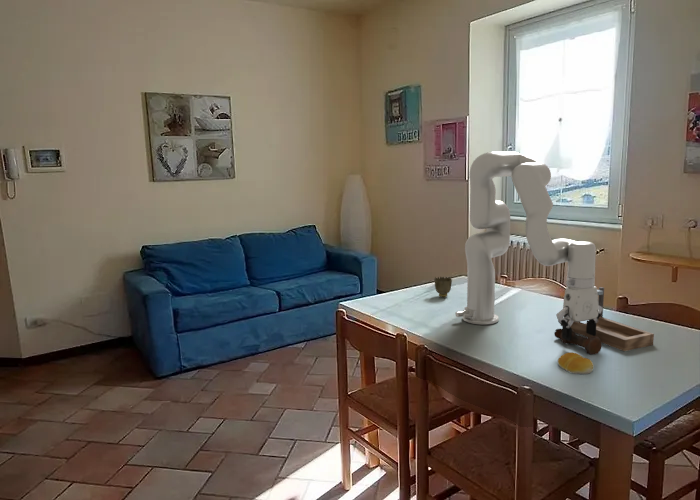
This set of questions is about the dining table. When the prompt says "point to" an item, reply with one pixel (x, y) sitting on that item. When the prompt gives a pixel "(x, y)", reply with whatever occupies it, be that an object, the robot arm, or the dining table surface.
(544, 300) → the dining table surface
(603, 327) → the cradle
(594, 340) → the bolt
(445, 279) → the cup
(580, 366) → the bread roll
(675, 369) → the dining table surface
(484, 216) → the robot arm
